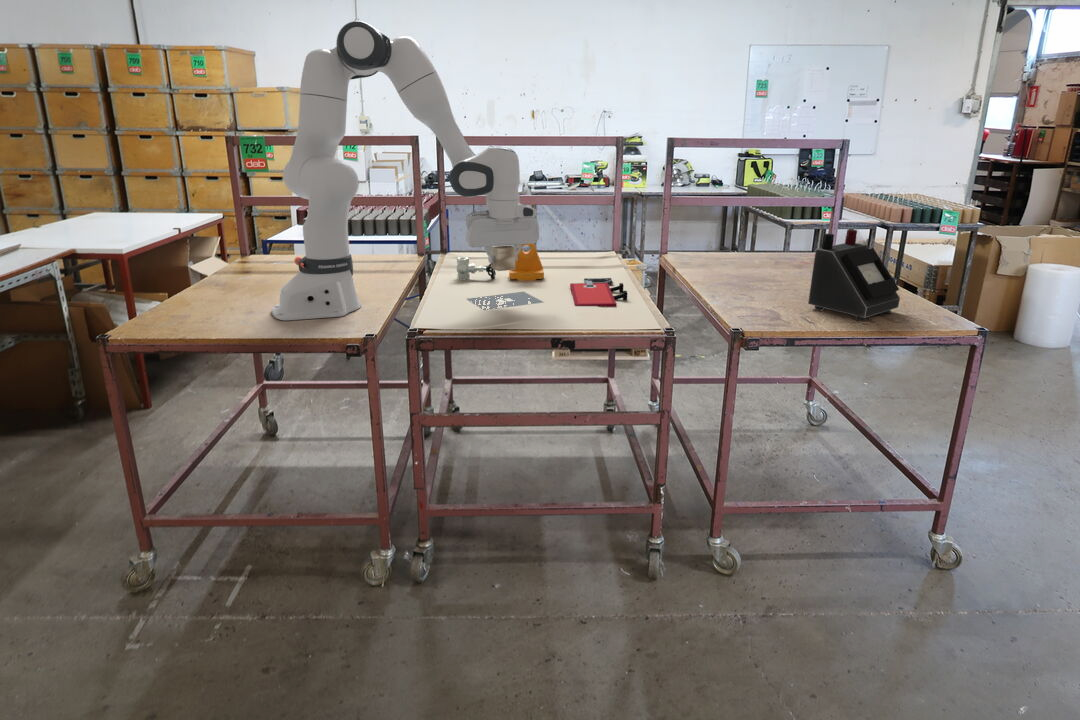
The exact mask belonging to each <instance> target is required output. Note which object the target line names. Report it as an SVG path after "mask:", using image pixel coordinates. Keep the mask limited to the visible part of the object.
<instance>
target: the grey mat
mask: <svg viewBox="0 0 1080 720" xmlns="http://www.w3.org/2000/svg"><path fill="white" fill-rule="evenodd" d="M495 296H496V297H495ZM501 296H503V297H501ZM476 297H477V296H476ZM476 297H470V298H469V297H467V298H466V300H467V301H469V302H470V303H472V304H473V305H475V300H476V299H477V300H476V305H477V306H476V305H475V306H476V307H478V306H479V307H478V308H480V309H481V310H482V306H484V307H486V308H487V306H489V307H490V308H489V309H490V310H496V309H497V310H498V308H497V307H498V305H497V304H498V303H499V302H500V303H501V302H504V304H502V305H499V306H502V307H503V308H504V305H507V306H506V307H505V308H509V307H510V308H511V307H518V306H519V307H520V306H525V305H529V304H528V301H530V302H531V304H530V305H532V304H533V305H534V304H541V303H544V301H543V300H541V299H539V298H537V297H535V296H533V295H531V294H529V293H527V292H525V291H519V292H510V293H501V294H494V295H492V294H491V295H487V296H486V295H485V296H478V297H477V298H476ZM480 297H482V298H480ZM485 297H487V298H485ZM497 297H499V298H497ZM500 297H501V298H503V299H500ZM489 298H490V299H489ZM495 298H496V299H495ZM528 298H530V299H528ZM498 299H500V300H498ZM479 300H481V301H480V304H481V305H478V304H479ZM484 300H486V301H485V304H486V305H483V301H484ZM514 300H515V301H514ZM471 301H472V302H471ZM488 301H490V304H489V305H487V303H488ZM496 301H497V302H496ZM505 301H506V304H505ZM496 303H497V304H496ZM513 303H514V305H513ZM486 308H484V309H483V310H482V311H488V309H487V310H486ZM493 308H495V309H493ZM503 308H502V309H503Z"/></svg>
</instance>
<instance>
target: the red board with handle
mask: <svg viewBox="0 0 1080 720" xmlns="http://www.w3.org/2000/svg"><path fill="white" fill-rule="evenodd" d="M583 280H584V282H583V283H582V282H579V283H577V282H576V283H575V282H574V283H572V282H571V283H570V284H569V287H570V291H571V295H572V300H573V304H574V306H575V307H590V306H591V307H598V308H599V307H600V308H601V307H603V308H605V307H606V308H607V307H611V308H612V307H613V308H614V307H617V302H616V300H620V299H623V301H624V302H626V301H628V290H624V283H623V282H619V285H617V286H613V287H610V285H609V284H614V282H613V279H612V278H611V277H598V278H597V277H596V278H591V277H589V278H583ZM616 291H619V294H616V295H613V292H616Z"/></svg>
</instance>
